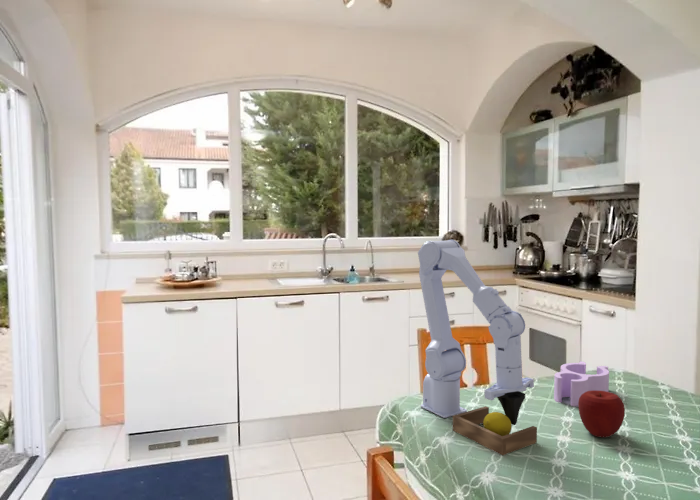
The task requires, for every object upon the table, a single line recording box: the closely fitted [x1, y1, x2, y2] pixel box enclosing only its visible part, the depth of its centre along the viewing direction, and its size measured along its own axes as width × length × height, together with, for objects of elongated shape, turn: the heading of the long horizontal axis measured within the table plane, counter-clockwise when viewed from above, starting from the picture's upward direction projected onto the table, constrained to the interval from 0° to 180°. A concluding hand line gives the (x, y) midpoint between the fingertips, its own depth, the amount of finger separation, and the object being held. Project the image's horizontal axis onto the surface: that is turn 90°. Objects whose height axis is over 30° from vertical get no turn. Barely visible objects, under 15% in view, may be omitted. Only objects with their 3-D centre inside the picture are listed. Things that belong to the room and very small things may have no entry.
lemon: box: [482, 411, 513, 436], centre depth 116 cm, size 6×6×8 cm
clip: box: [553, 361, 610, 407], centre depth 143 cm, size 20×12×7 cm, turn 134°
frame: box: [452, 405, 538, 456], centre depth 116 cm, size 15×11×4 cm
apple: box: [577, 390, 626, 438], centre depth 117 cm, size 10×10×10 cm
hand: (511, 423), depth 117 cm, fingers closed, pressing on lemon
